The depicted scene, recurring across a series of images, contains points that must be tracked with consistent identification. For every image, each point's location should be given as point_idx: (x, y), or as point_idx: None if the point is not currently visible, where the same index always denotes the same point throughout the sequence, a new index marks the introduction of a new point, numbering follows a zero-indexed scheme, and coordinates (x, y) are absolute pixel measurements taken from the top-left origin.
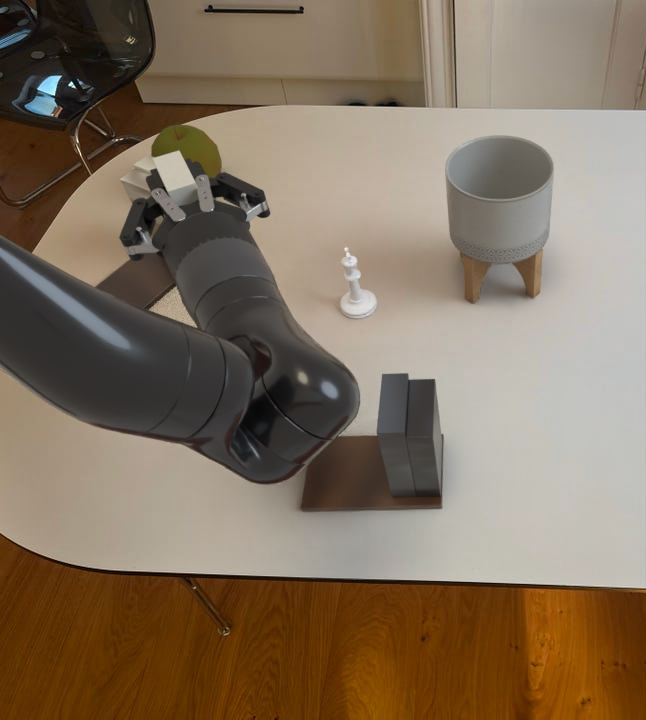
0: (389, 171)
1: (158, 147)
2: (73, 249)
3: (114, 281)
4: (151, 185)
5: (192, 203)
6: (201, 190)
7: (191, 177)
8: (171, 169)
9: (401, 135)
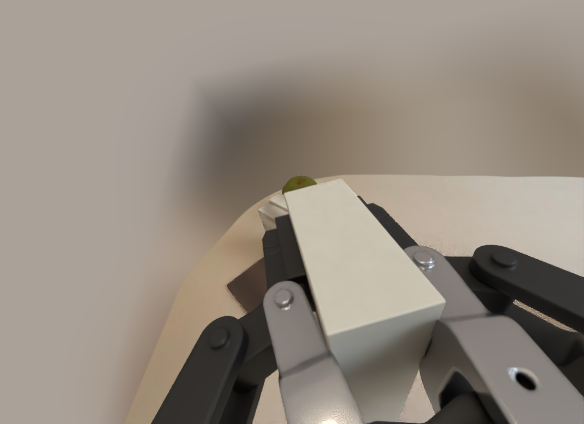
0: (441, 211)
1: (286, 189)
2: (228, 248)
3: (244, 279)
4: (271, 258)
5: (442, 420)
6: (493, 356)
7: (412, 267)
8: (330, 225)
9: (440, 187)
